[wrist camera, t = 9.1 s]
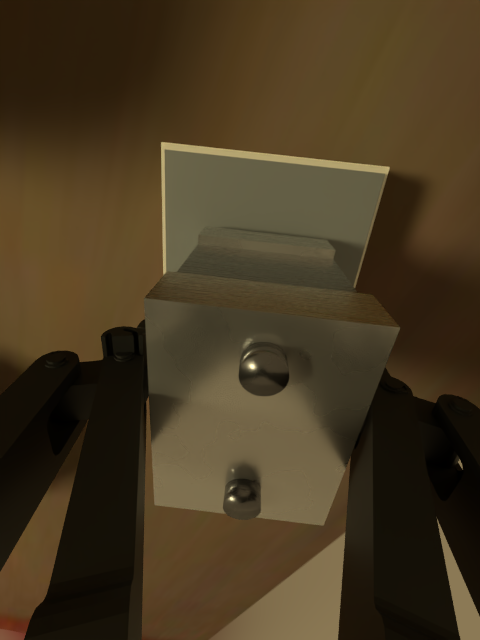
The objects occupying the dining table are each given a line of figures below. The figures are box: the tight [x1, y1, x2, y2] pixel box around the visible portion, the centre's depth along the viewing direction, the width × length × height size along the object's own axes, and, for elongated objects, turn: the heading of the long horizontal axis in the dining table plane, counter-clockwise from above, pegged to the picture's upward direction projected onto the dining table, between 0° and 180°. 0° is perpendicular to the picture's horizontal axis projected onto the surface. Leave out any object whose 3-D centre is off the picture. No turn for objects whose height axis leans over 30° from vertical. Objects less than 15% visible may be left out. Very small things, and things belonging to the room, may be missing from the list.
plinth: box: [161, 142, 390, 288], centre depth 19 cm, size 11×15×4 cm
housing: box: [144, 226, 400, 526], centre depth 13 cm, size 6×8×10 cm
